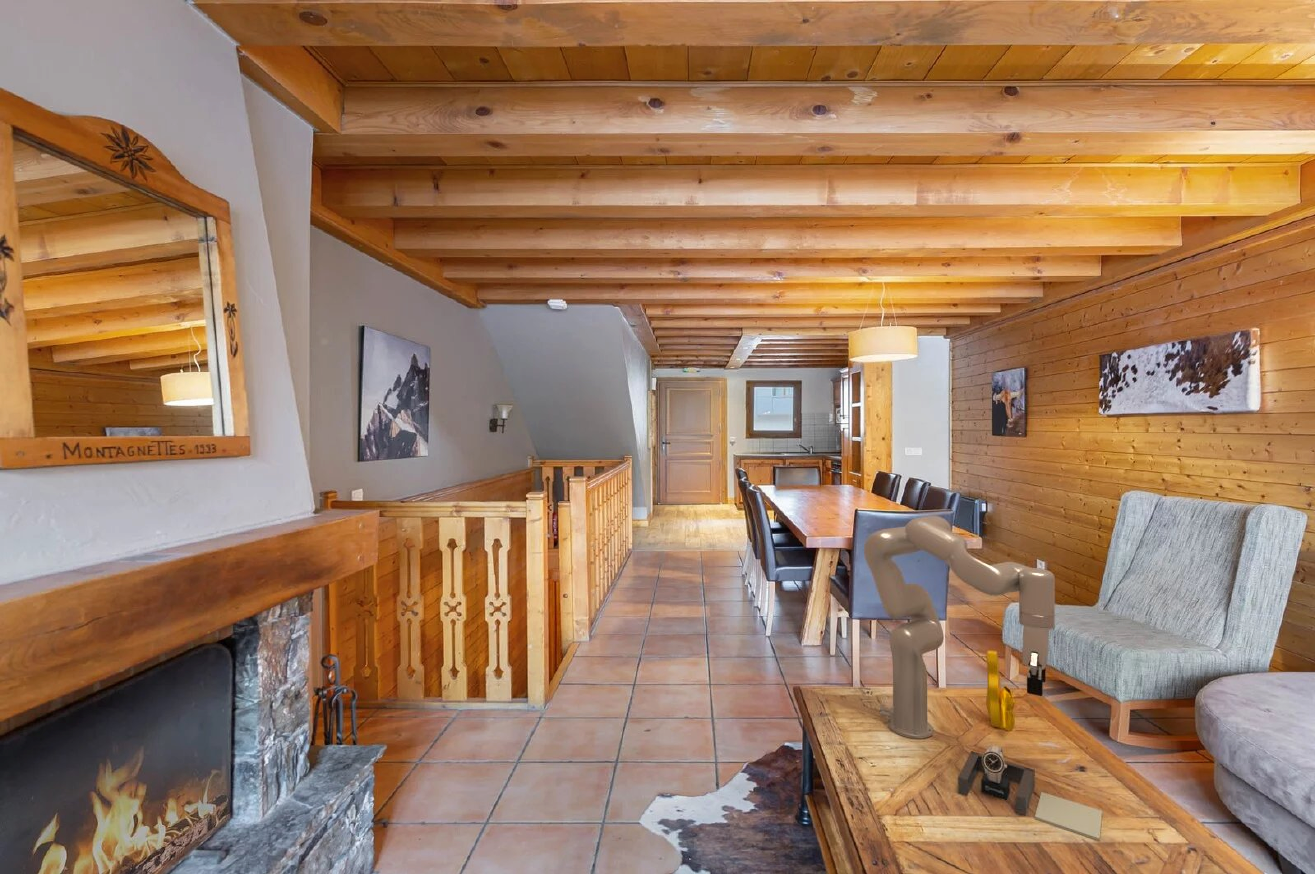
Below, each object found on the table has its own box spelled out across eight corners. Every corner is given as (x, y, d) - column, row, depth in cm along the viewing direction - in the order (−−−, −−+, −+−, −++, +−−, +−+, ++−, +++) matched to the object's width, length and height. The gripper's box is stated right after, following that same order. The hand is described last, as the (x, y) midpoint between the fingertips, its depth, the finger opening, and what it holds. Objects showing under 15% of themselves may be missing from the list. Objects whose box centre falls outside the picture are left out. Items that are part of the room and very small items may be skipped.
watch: (979, 795, 147) (979, 751, 147) (986, 780, 153) (986, 737, 153) (1005, 804, 144) (1005, 758, 144) (1011, 788, 150) (1011, 745, 150)
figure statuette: (1012, 741, 173) (1012, 665, 172) (981, 733, 177) (981, 659, 177) (1018, 717, 187) (1018, 646, 187) (990, 710, 192) (990, 641, 191)
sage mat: (1035, 818, 138) (1035, 816, 138) (1041, 794, 148) (1041, 791, 148) (1099, 840, 131) (1099, 838, 131) (1102, 813, 140) (1102, 810, 140)
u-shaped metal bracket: (958, 792, 148) (958, 776, 148) (971, 765, 160) (971, 750, 160) (1025, 815, 139) (1025, 798, 139) (1034, 785, 151) (1034, 769, 151)
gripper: (1022, 607, 159) (1022, 672, 159) (1015, 625, 145) (1015, 695, 145) (1056, 613, 154) (1056, 679, 154) (1052, 631, 140) (1052, 704, 141)
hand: (1036, 687), depth 150 cm, fingers open, 9 cm apart
